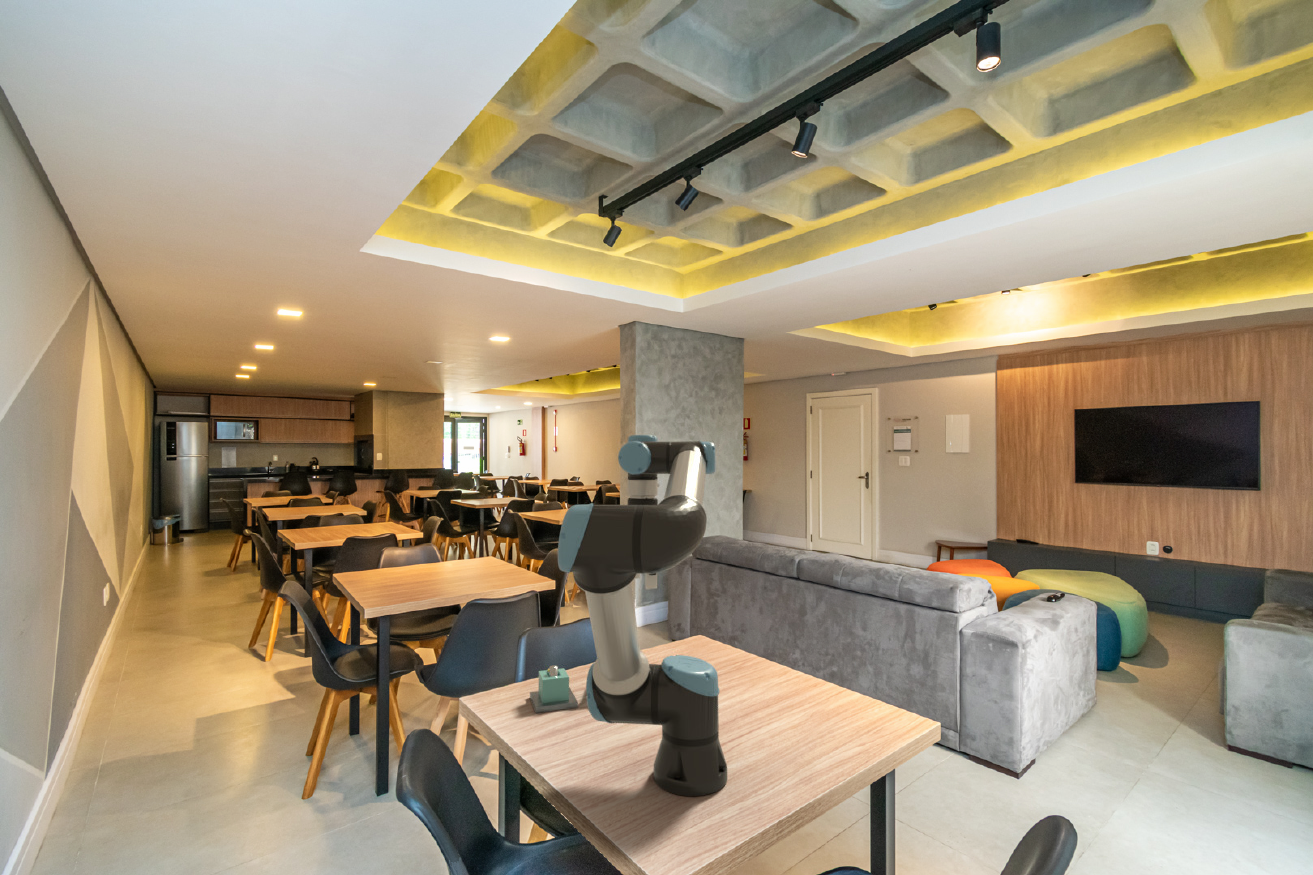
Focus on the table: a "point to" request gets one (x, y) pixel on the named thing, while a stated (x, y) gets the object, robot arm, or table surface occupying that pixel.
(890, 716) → the table surface
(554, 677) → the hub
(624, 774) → the table surface
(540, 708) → the shaft base
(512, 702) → the table surface
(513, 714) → the table surface
